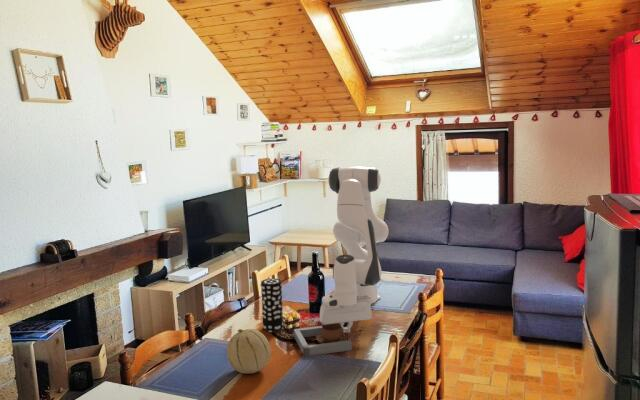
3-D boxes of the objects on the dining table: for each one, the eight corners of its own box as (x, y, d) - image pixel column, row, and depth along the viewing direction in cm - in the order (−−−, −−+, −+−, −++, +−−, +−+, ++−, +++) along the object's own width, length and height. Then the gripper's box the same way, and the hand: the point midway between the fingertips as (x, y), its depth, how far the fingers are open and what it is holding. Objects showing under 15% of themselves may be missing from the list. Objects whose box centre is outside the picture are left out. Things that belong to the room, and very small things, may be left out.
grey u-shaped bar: (293, 336, 209) (293, 329, 208) (337, 331, 213) (337, 324, 212) (304, 356, 190) (304, 348, 190) (351, 350, 195) (351, 342, 194)
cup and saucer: (350, 337, 206) (350, 322, 205) (342, 349, 195) (342, 334, 194) (321, 334, 210) (321, 319, 209) (312, 346, 199) (311, 330, 198)
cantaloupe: (273, 378, 174) (272, 335, 172) (228, 384, 171) (226, 340, 169) (268, 359, 188) (266, 319, 186) (226, 364, 185) (224, 323, 183)
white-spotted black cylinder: (280, 332, 213) (278, 284, 210) (260, 331, 214) (258, 284, 212) (285, 325, 221) (283, 278, 218) (266, 324, 222) (264, 278, 220)
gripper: (368, 292, 207) (368, 326, 209) (318, 297, 202) (318, 332, 204) (374, 297, 201) (374, 332, 203) (322, 303, 196) (323, 338, 198)
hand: (346, 332), depth 203 cm, fingers closed
